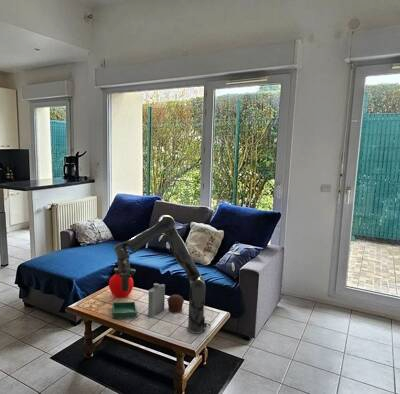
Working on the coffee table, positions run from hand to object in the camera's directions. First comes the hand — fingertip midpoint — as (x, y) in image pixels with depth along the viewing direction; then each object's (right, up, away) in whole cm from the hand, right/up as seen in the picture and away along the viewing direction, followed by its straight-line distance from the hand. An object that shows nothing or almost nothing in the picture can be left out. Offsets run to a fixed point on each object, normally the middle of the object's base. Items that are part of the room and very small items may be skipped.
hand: (125, 276), depth 227 cm
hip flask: (+20, -25, +3) cm, 32 cm away
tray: (-1, -25, +2) cm, 25 cm away
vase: (-5, -21, +28) cm, 36 cm away
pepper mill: (0, -9, -1) cm, 9 cm away
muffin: (+34, -25, +8) cm, 43 cm away
